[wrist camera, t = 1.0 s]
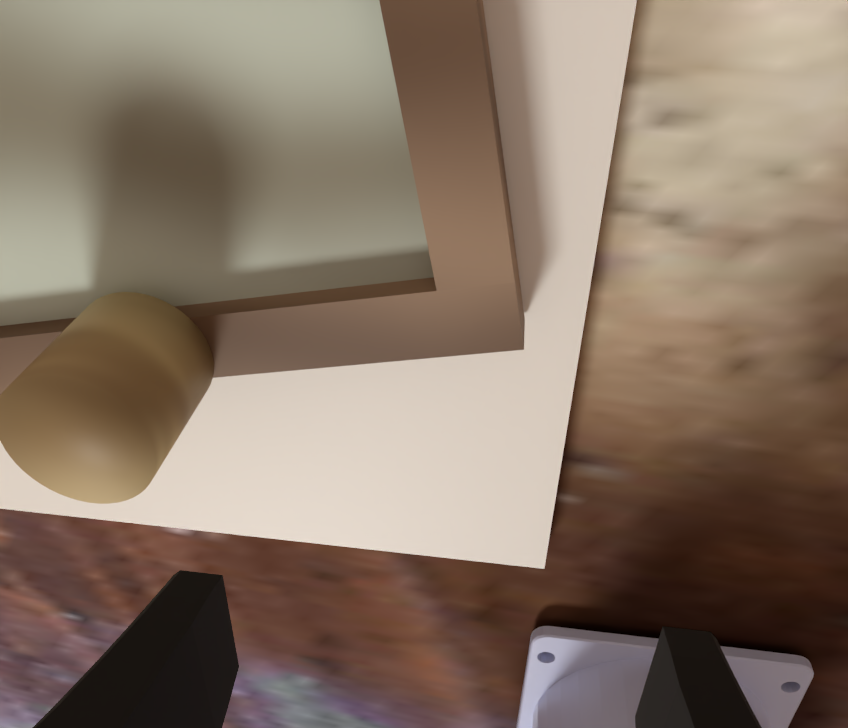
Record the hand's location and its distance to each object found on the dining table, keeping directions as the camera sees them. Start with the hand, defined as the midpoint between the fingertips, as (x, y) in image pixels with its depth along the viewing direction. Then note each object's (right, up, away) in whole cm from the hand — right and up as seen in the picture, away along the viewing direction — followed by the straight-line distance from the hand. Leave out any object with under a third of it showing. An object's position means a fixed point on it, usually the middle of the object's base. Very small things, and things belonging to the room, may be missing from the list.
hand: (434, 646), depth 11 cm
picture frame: (-7, +8, +5) cm, 11 cm away
